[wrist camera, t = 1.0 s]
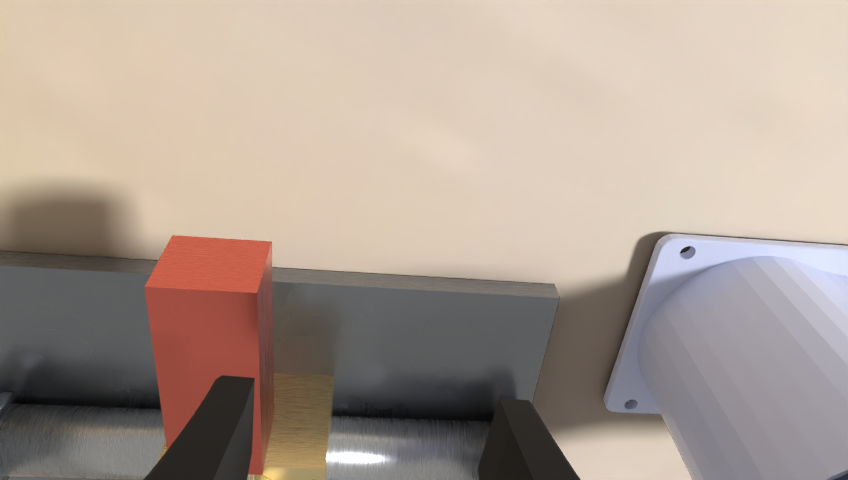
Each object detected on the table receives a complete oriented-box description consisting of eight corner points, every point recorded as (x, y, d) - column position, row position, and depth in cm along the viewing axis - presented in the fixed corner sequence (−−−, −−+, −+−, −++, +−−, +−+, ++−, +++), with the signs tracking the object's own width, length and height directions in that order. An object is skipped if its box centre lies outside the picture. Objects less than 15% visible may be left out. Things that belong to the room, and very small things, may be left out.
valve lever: (287, 554, 22) (277, 628, 19) (201, 552, 21) (181, 628, 19) (287, 233, 15) (272, 293, 13) (163, 225, 15) (128, 285, 13)
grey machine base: (554, 284, 23) (592, 382, 19) (494, 518, 29) (512, 630, 25) (-52, 248, 21) (-162, 348, 17) (30, 507, 27) (-34, 627, 23)
